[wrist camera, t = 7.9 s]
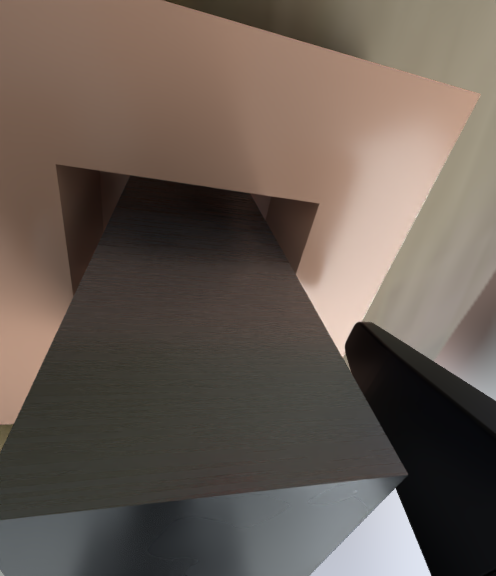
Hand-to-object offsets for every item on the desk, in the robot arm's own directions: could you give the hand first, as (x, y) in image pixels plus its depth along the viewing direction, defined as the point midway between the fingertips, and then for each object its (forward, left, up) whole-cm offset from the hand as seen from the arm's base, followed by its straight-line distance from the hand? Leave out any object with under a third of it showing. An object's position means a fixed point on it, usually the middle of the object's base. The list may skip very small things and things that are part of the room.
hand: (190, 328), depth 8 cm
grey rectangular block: (0, 0, -6) cm, 6 cm away
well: (0, 0, -6) cm, 6 cm away
